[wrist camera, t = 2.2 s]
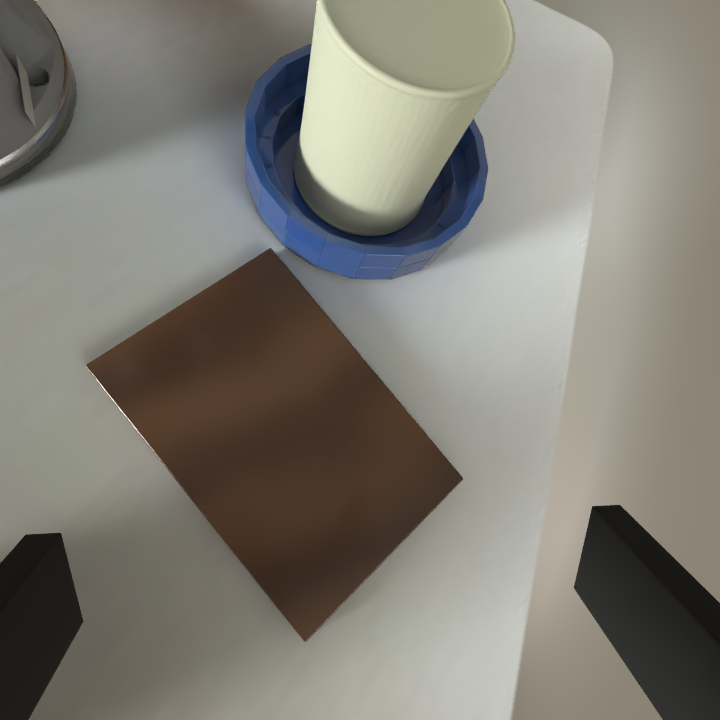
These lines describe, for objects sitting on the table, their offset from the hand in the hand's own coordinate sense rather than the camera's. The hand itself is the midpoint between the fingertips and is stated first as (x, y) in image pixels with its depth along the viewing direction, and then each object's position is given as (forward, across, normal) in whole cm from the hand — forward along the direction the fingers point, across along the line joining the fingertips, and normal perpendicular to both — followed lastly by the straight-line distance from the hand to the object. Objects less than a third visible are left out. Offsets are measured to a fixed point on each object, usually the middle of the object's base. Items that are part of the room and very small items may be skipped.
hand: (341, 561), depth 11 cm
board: (+14, -2, -3) cm, 14 cm away
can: (+24, +3, +10) cm, 26 cm away
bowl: (+24, +3, +10) cm, 26 cm away
